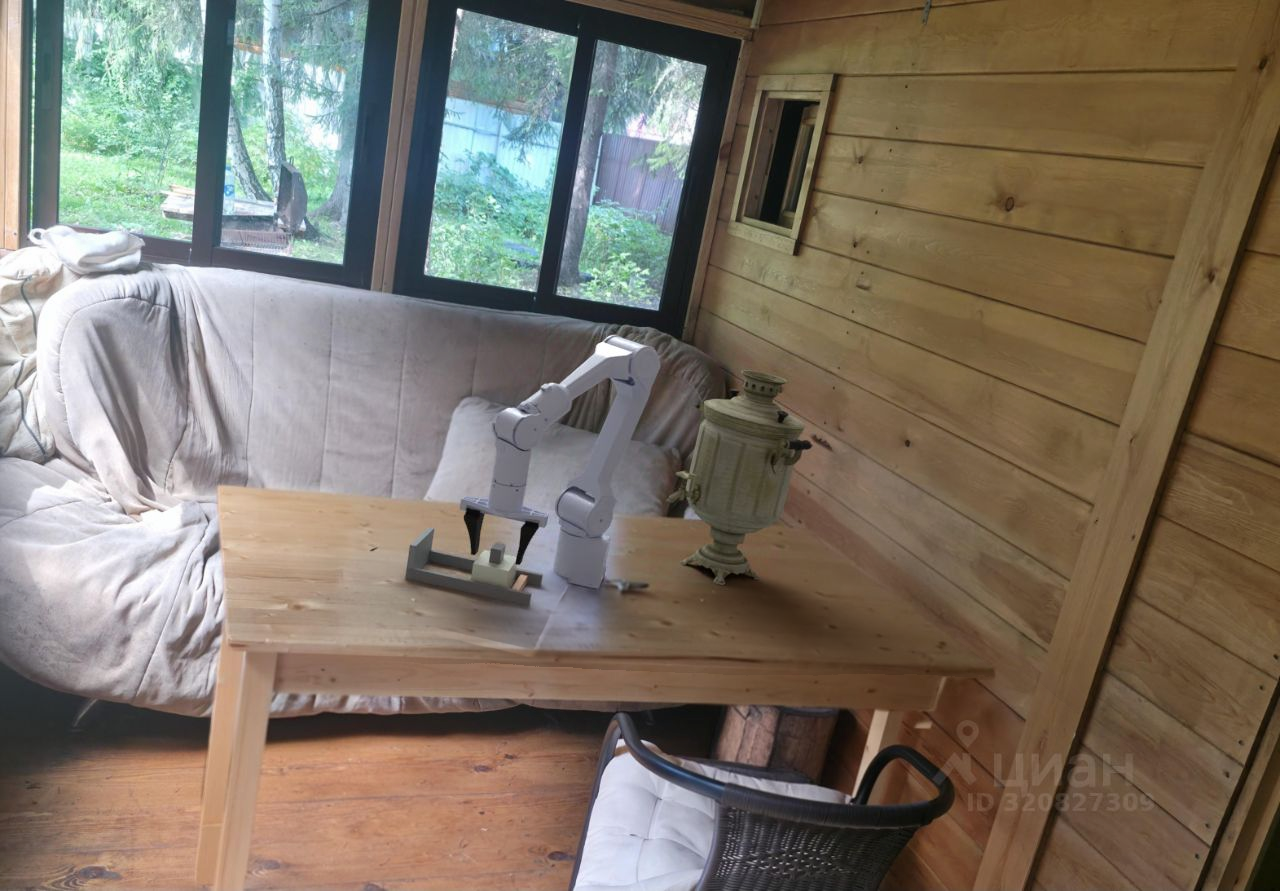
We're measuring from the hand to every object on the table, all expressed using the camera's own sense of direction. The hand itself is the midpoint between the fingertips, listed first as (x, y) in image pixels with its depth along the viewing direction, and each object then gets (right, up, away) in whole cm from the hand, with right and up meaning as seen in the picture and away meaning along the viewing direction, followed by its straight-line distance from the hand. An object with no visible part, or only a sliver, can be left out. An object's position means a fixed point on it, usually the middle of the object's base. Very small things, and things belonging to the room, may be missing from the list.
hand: (496, 557), depth 169 cm
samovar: (+37, -6, +31) cm, 49 cm away
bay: (-4, -5, +2) cm, 7 cm away
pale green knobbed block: (-1, -5, +1) cm, 5 cm away
